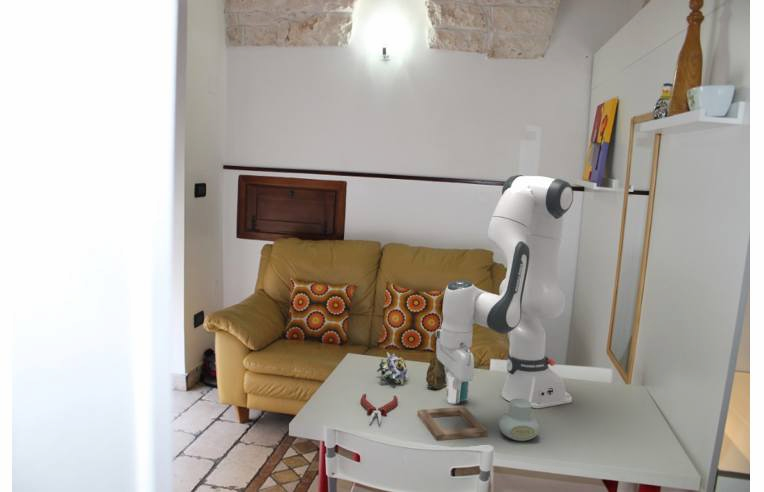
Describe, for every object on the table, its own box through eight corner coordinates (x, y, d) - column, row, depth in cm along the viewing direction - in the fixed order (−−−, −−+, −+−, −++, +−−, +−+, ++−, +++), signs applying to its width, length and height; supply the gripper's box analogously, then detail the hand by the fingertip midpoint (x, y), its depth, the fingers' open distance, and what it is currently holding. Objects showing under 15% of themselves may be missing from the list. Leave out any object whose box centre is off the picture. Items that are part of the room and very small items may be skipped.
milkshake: (441, 399, 178) (443, 365, 177) (460, 399, 178) (461, 365, 177) (443, 404, 173) (444, 369, 173) (462, 405, 173) (463, 370, 173)
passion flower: (400, 398, 210) (399, 378, 201) (370, 387, 213) (369, 367, 205) (412, 372, 217) (412, 352, 209) (384, 362, 220) (383, 342, 212)
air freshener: (533, 430, 176) (536, 397, 175) (541, 443, 168) (544, 408, 166) (495, 429, 176) (497, 395, 174) (501, 442, 168) (504, 407, 166)
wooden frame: (464, 411, 187) (464, 406, 187) (487, 436, 171) (488, 431, 171) (417, 414, 184) (417, 409, 183) (436, 440, 167) (436, 435, 167)
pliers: (354, 427, 175) (354, 418, 174) (361, 399, 195) (361, 392, 194) (394, 429, 174) (395, 421, 174) (397, 402, 194) (398, 394, 194)
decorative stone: (426, 356, 205) (435, 356, 203) (444, 356, 212) (452, 357, 209) (424, 388, 204) (433, 389, 202) (442, 387, 211) (450, 388, 208)
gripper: (481, 349, 164) (477, 399, 166) (453, 328, 184) (450, 373, 186) (459, 350, 163) (455, 400, 165) (433, 328, 182) (430, 373, 184)
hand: (452, 385), depth 175 cm, fingers closed on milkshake, 4 cm apart
